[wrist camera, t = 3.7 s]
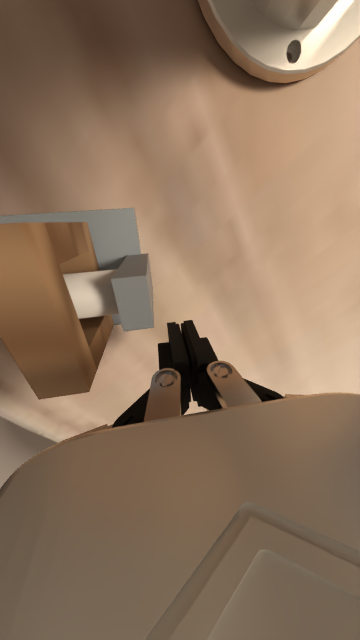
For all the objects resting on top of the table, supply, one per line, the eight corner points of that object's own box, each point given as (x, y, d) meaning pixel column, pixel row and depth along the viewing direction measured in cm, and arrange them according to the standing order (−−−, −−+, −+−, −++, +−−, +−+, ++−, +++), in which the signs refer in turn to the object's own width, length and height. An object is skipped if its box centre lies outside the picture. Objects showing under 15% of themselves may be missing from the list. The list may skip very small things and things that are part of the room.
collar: (48, 224, 12) (-67, 228, 6) (87, 222, 12) (17, 222, 6) (84, 327, 16) (38, 399, 9) (113, 323, 16) (89, 391, 9)
